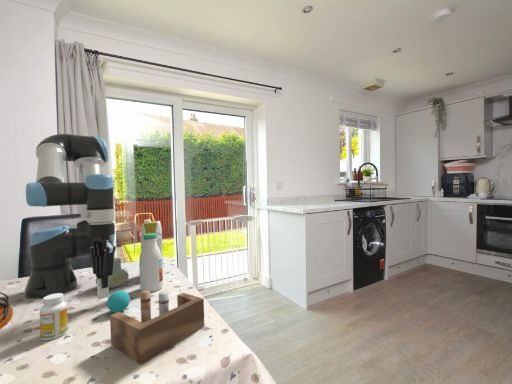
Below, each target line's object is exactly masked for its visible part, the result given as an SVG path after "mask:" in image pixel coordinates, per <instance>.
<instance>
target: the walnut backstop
mask: <svg viewBox="0 0 512 384" xmlns="http://www.w3.org/2000/svg"><path fill="white" fill-rule="evenodd" d="M176 296H177V297H176V301H177V302H176V303H177V306H176V307H174V308H172V309H169V311H168V312H165V313H163V314H161V315H159V314H158V316H155V317H153V318H151V320H148V321H146V322H144V323H142V322H141V321H140V320H137V319H136V318H134V317H131V316H129V315H127V314H125V313H123V312H122V311H121V312H113V313H112V314H110V315H109V319H110V320H109V321H110V346H111V347H112V348H114V349H116V350H117V351H119V352H120V353H121V354H124V355H125V356H127V357H128V358H129V359H131V360H133V361H135V362H136V363H138V364H139V365H143V364H144V363H146V362H147V361H149V360H151V359H152V358H154V357H156V356H157V355H159V354H160V353H162V352H164V351H166V350H167V349H169V348H171V347H172V346H175V344H177V343H178V342H180V341H182V340H183V339H186V338H187V337H189V336H190V335H192V334H194V333H195V332H197V331H199V330H200V329H202V328H203V327H205V304H204V303H205V302H204V301H205V300H204V299H205V298H202V297H198V296H195V295H193V294H189V293H185V292H180V293H179V294H177V295H176Z"/></svg>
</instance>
